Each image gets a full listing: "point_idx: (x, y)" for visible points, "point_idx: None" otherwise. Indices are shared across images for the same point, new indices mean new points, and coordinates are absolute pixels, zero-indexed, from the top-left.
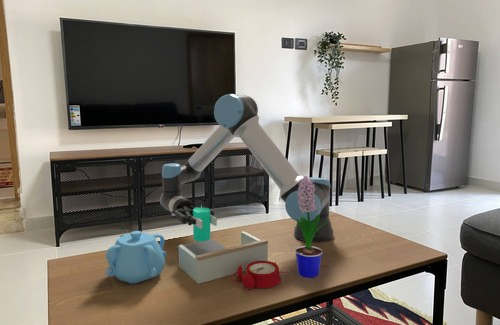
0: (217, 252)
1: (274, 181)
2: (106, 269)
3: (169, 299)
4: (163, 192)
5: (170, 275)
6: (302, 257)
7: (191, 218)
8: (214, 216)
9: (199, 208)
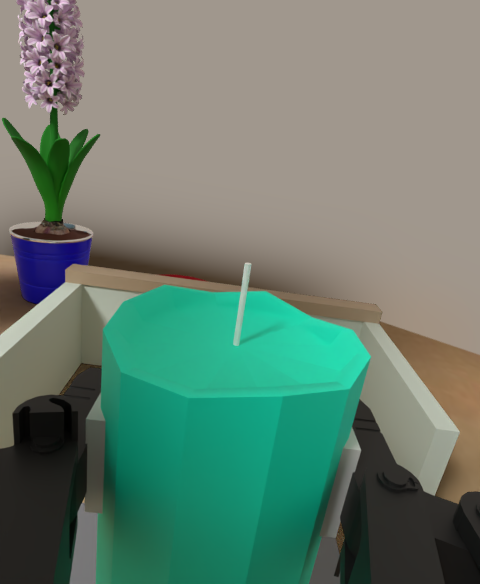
0: (298, 295)
1: None
2: None
3: (445, 380)
4: None
5: (459, 481)
6: (91, 240)
7: (369, 453)
8: (77, 375)
9: (216, 394)
